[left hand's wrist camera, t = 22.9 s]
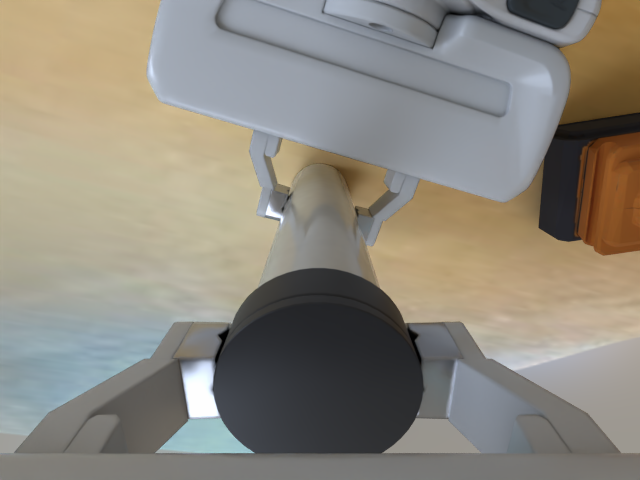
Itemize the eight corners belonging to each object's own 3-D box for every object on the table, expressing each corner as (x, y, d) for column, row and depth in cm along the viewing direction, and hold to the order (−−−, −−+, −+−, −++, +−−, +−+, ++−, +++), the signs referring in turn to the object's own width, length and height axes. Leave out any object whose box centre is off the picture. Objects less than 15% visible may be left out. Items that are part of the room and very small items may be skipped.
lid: (221, 400, 11) (203, 455, 9) (241, 251, 9) (223, 285, 7) (382, 425, 11) (392, 482, 9) (429, 284, 9) (452, 324, 8)
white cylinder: (341, 157, 26) (388, 284, 8) (352, 212, 28) (414, 424, 10) (284, 170, 26) (209, 322, 8) (299, 224, 28) (260, 451, 10)
